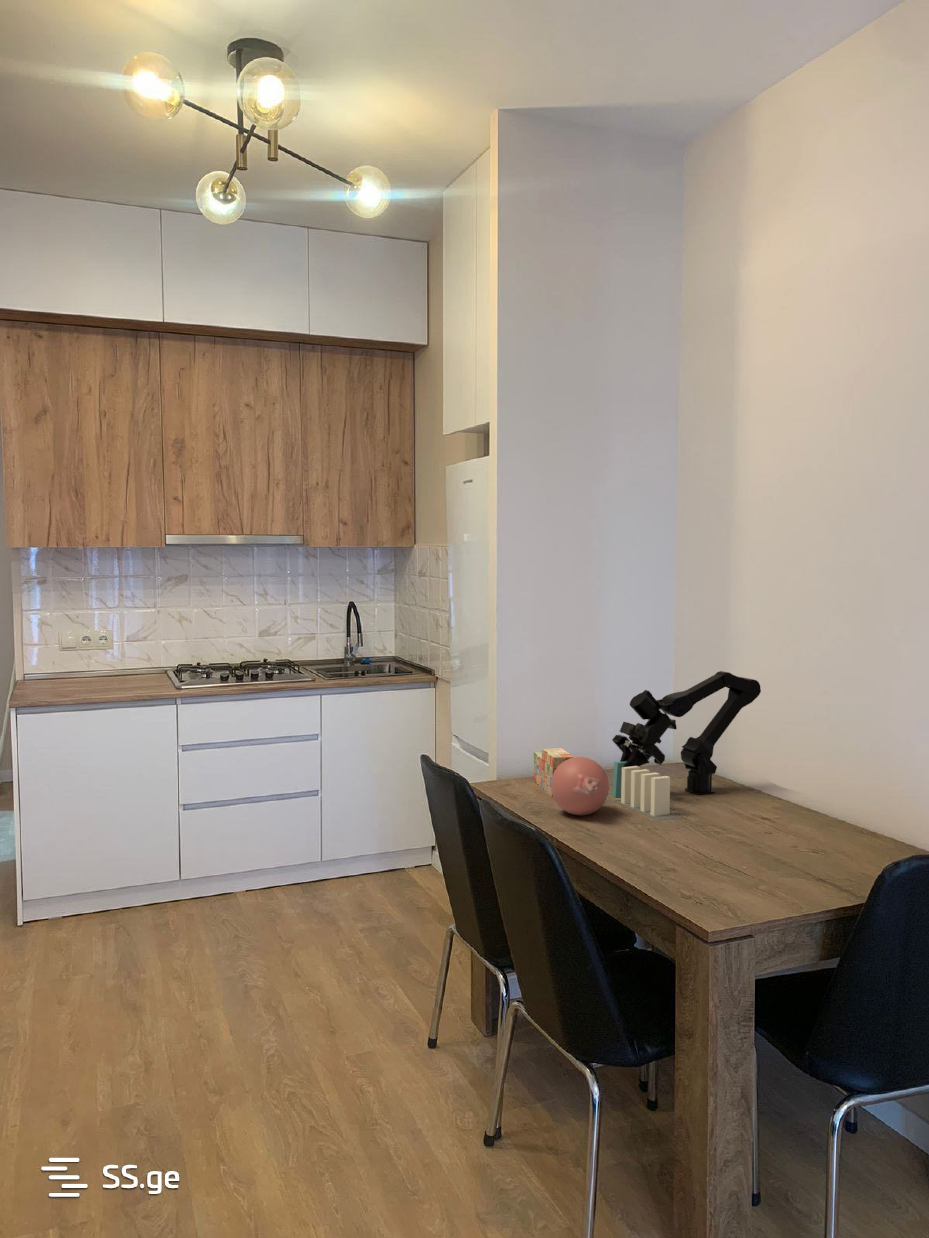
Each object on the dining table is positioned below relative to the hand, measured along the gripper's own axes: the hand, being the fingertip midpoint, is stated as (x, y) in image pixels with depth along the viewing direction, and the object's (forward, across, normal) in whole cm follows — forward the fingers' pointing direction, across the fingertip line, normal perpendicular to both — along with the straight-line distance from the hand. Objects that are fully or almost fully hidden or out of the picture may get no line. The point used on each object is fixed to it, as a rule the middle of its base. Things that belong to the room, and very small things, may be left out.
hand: (620, 771), depth 263 cm
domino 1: (+5, +4, +6) cm, 9 cm away
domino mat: (+6, +9, +6) cm, 12 cm away
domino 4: (+5, +18, +6) cm, 20 cm away
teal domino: (+5, 0, +6) cm, 7 cm away
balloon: (+20, +10, -8) cm, 24 cm away
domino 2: (+5, +9, +6) cm, 12 cm away
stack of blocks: (+14, -18, -2) cm, 23 cm away
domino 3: (+5, +14, +6) cm, 16 cm away
